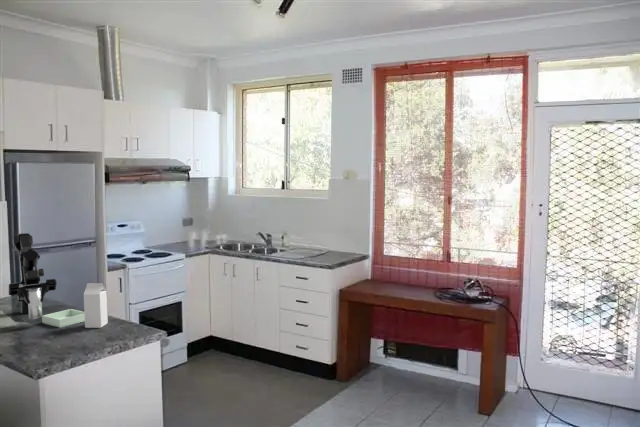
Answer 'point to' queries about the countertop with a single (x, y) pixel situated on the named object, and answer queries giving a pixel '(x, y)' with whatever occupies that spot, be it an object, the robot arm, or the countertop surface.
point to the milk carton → (95, 305)
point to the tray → (64, 318)
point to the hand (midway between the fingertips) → (35, 302)
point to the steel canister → (34, 303)
